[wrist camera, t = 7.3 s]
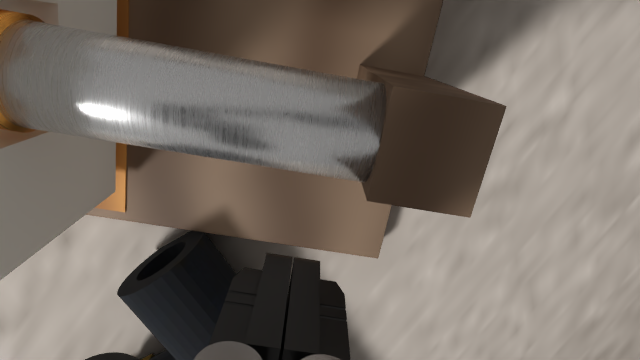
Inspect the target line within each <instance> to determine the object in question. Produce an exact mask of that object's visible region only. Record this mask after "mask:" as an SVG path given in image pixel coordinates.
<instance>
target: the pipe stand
mask: <svg viewBox="0 0 640 360" xmlns="http://www.w3.org/2000/svg"><path fill="white" fill-rule="evenodd" d="M442 3H443V0H117V36H121V37H127V38H132V39H138V40H144V41H149V42H155V43H160V44H166V45H171V46H177V47H183V48H188V49H194V50H199V51H205V52H211V53H216V54H222V55H227V56H233V57H239V58H244V59H250V60H255V61H261V62H266V63H272V64H278V65H283V66H289V67H294V68H300V69H306V70H311V71H317V72H322V73H328V74H333V75H339V76H345V77H350V78H356V79H361V80H367V81H373V82H378V83H383V84H384V85H385V89H386V110H385V119H384V126H383V132H382V137H381V142H380V147H379V151H378V155H377V158H376V162H375V165H374V168H373V171H372V173H371V175H370V177H369V179H368V181H367V182H365V183H363V182H357V181H351V180H345V179H338V178H332V177H326V176H320V175H314V174H308V173H301V172H295V171H289V170H283V169H277V168H271V167H264V166H258V165H252V164H246V163H240V162H234V161H227V160H221V159H215V158H209V157H203V156H197V155H190V154H184V153H178V152H172V151H166V150H160V149H153V148H147V147H141V146H135V145H129V144H123V143H116V189H115V192H114V193H113V194H111V195H110V196H109V197H108V198H106V199H105V200H104V201H102V202H101V203H100V204H98V205H97V206H96V207H95V208H93V209H92V210H91V211H89V212H88V213H87V214H86V215H92V216H99V217H106V218H112V219H119V220H126V221H132V222H139V223H146V224H152V225H159V226H165V227H172V228H179V229H185V230H192V231H199V232H205V233H212V234H219V235H225V236H232V237H239V238H245V239H252V240H259V241H265V242H272V243H279V244H285V245H292V246H299V247H305V248H312V249H319V250H325V251H332V252H339V253H345V254H352V255H359V256H365V257H372V258H378V257H379V253H380V249H381V245H382V241H383V237H384V233H385V229H386V225H387V221H388V217H389V213H390V209H391V205H394V206H401V207H407V208H413V209H420V210H426V211H432V212H438V213H445V214H451V215H457V216H464V217H471V214H472V211H473V208H474V204H475V201H476V198H477V195H478V192H479V189H480V186H481V183H482V180H483V177H484V174H485V171H486V168H487V165H488V161H489V158H490V155H491V152H492V149H493V146H494V143H495V140H496V137H497V134H498V131H499V128H500V125H501V122H502V118H503V115H504V112H505V109H506V106H505V105H502V104H499V103H496V102H494V101H491V100H488V99H485V98H483V97H480V96H477V95H474V94H472V93H469V92H466V91H464V90H461V89H458V88H455V87H453V86H450V85H447V84H444V83H442V82H439V81H436V80H434V79H431V78H428V77H425V76H424V75H425V71H426V67H427V63H428V59H429V55H430V51H431V47H432V43H433V39H434V35H435V31H436V27H437V23H438V19H439V15H440V11H441V7H442Z"/></svg>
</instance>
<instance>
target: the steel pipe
mask: <svg viewBox="0 0 640 360" xmlns="http://www.w3.org/2000/svg"><path fill="white" fill-rule="evenodd" d="M385 110H386V89H385V85H384V84H383V83H378V82H373V81H367V80H361V79H356V78H350V77H345V76H339V75H333V74H328V73H322V72H317V71H311V70H306V69H300V68H294V67H289V66H283V65H278V64H272V63H266V62H261V61H255V60H250V59H244V58H239V57H233V56H227V55H222V54H216V53H211V52H205V51H199V50H194V49H188V48H183V47H177V46H171V45H166V44H160V43H155V42H149V41H144V40H138V39H132V38H127V37H121V36H116V35H110V34H104V33H99V32H93V31H88V30H82V29H77V28H71V27H65V26H60V25H54V24H49V23H45V22H43V21H42V20H41V19H39V18H38V17H36V16H33V15H30V14H25V13H19V12H13V11H8V10H2V9H0V129H3V130H10V131H16V132H22V133H28V132H33V131H35V130H42V131H49V132H55V133H61V134H67V135H73V136H79V137H86V138H92V139H98V140H104V141H110V142H116V143H123V144H129V145H135V146H141V147H147V148H153V149H160V150H166V151H172V152H178V153H184V154H190V155H197V156H203V157H209V158H215V159H221V160H227V161H234V162H240V163H246V164H252V165H258V166H264V167H271V168H277V169H283V170H289V171H295V172H301V173H308V174H314V175H320V176H326V177H332V178H338V179H345V180H351V181H357V182H363V183H365V182H367V181H368V179H369V177H370V175H371V173H372V171H373V168H374V165H375V162H376V158H377V155H378V151H379V147H380V142H381V137H382V132H383V126H384V119H385Z"/></svg>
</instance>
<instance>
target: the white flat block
mask: <svg viewBox="0 0 640 360" xmlns="http://www.w3.org/2000/svg"><path fill="white" fill-rule="evenodd" d="M0 9H2V10H8V11H13V12H19V13H25V14H30V15H33V16H36V17H38V18H39V19H41V20H42V21H43V22H45V23H49V24H54V25H60V26H65V27H71V28H77V29H82V30H88V31H93V32H99V33H104V34H110V35H116V36H117V0H0ZM115 189H116V142H110V141H104V140H98V139H92V138H86V137H79V136H73V135H67V134H61V133H55V132H49V131H42V130H35V131H33V132H28V133H22V132H16V131H10V130H3V129H0V280H1V279H2V278H4V277H5V276H6V275H8V274H9V273H10V272H12V271H13V270H14V269H15V268H17V267H18V266H19V265H21V264H22V263H23V262H25V261H26V260H27V259H28V258H30V257H31V256H32V255H34V254H35V253H36V252H37V251H39V250H40V249H41V248H43V247H44V246H45V245H47V244H48V243H49V242H50V241H52V240H53V239H54V238H56V237H57V236H58V235H60V234H61V233H62V232H63V231H65V230H66V229H67V228H69V227H70V226H71V225H73V224H74V223H75V222H76V221H78V220H79V219H80V218H82V217H83V216H84V215H86V214H87V213H88V212H89V211H91V210H92V209H93V208H95V207H96V206H97V205H98V204H100V203H101V202H102V201H104V200H105V199H106V198H108V197H109V196H110V195H111V194H113V193H114V192H115Z"/></svg>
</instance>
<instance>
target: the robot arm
mask: <svg viewBox="0 0 640 360" xmlns="http://www.w3.org/2000/svg"><path fill="white" fill-rule="evenodd" d="M291 264H292V257H289V256H283V255H277V254H270V253H267V255H266V259H265V263H264V267H263V271H262V270H256V269H249V268H244V269H243V270H242V271H240V272H239V273H238V274H237V275H236V276H234V277H233V279H232V282H231V285H230V288H229V291H228V293H227V296H226V299H225V302H224V304H223V307H222V310H221V312H220V315H219V318H218V321H217V323H216V326H215V329H214V332H213V335H212V337H211V340H210V343H209V345H208V346H207V347H206V348H204V349H203V350H201V351H200V352H199V353H198V354H197V355H196V357H195V359H194V360H350V352H349V340H348V329H347V322H346V319H347V318H346V310H345V308H346V307H345V296H344V293H343V292H342V290H341V289H340V287H339V286H338V284H337V283H336V282H333V281H327V280H321V279H320V261H315V260H309V259H303V258H296V257H295V258H294V262H293V268H292V273H291V279H290V272H291ZM289 279H290V284H289ZM288 287H289V290H288ZM287 295H288V296H287ZM85 360H138V359H137V358H135V357H134V356H131V355H128V354H124V353H104V354H99V355H96V356H92V357H90V358H88V359H85Z"/></svg>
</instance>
